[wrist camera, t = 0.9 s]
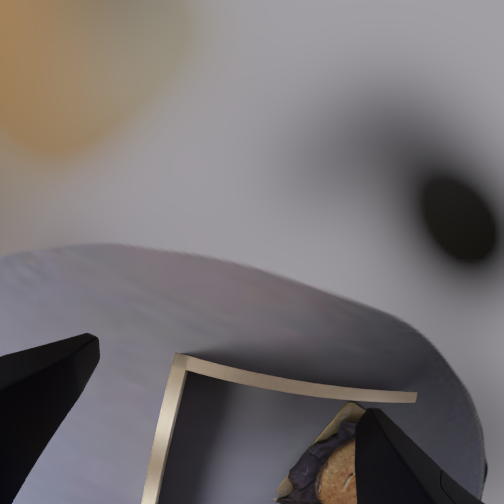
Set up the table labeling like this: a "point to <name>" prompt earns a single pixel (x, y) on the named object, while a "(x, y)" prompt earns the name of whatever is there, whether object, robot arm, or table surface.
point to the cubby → (243, 377)
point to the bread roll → (326, 465)
